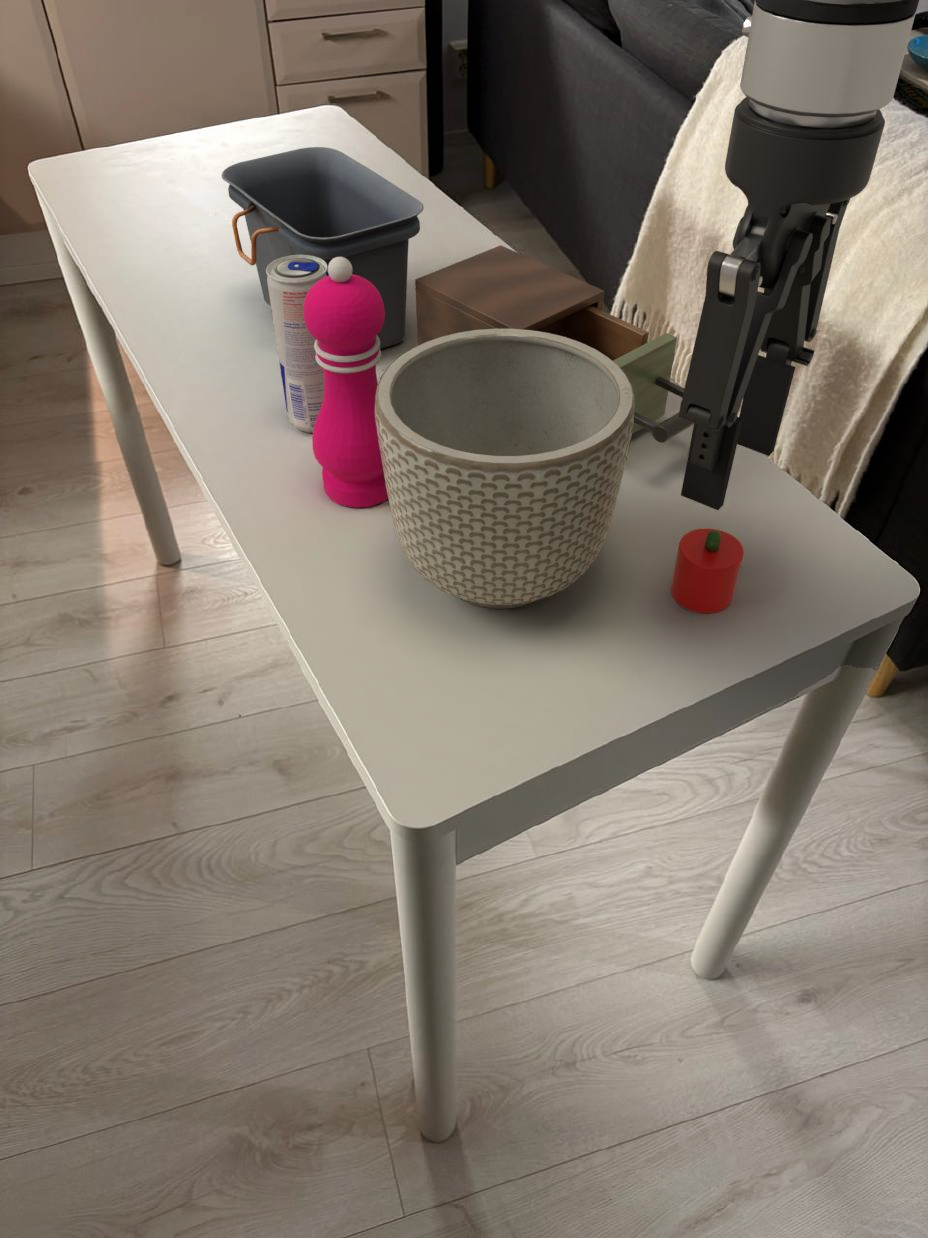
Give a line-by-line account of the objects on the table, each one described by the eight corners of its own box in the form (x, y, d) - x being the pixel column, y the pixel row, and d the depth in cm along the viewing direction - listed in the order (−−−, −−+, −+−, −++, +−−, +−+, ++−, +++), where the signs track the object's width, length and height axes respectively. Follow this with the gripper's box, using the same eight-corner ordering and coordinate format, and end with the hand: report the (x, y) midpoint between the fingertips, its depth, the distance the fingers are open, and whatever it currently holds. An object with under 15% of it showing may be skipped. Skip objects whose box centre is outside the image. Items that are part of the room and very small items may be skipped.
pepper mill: (303, 500, 82) (268, 270, 68) (342, 454, 87) (318, 230, 73) (380, 520, 80) (362, 287, 66) (416, 472, 85) (406, 245, 71)
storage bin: (441, 346, 100) (438, 205, 91) (309, 391, 94) (290, 246, 84) (339, 272, 113) (327, 141, 103) (216, 308, 107) (190, 172, 97)
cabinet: (595, 384, 95) (604, 290, 88) (514, 427, 90) (518, 330, 83) (498, 334, 102) (500, 244, 95) (418, 371, 97) (414, 279, 90)
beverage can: (348, 408, 92) (332, 252, 82) (338, 438, 88) (320, 279, 78) (295, 405, 92) (273, 250, 82) (283, 435, 89) (258, 277, 78)
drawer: (720, 443, 86) (737, 364, 80) (648, 489, 81) (660, 408, 76) (565, 364, 96) (571, 289, 90) (492, 401, 91) (494, 323, 86)
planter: (573, 491, 82) (589, 314, 71) (644, 631, 70) (676, 444, 59) (372, 519, 80) (355, 341, 69) (410, 670, 68) (397, 482, 57)
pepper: (743, 588, 74) (759, 527, 70) (715, 622, 71) (730, 561, 67) (688, 564, 76) (701, 504, 72) (659, 596, 73) (670, 535, 69)
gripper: (819, 47, 57) (743, 392, 73) (649, 141, 46) (603, 525, 62) (949, 69, 54) (839, 426, 70) (800, 176, 42) (710, 572, 58)
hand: (728, 472), depth 66 cm, fingers open, 7 cm apart
